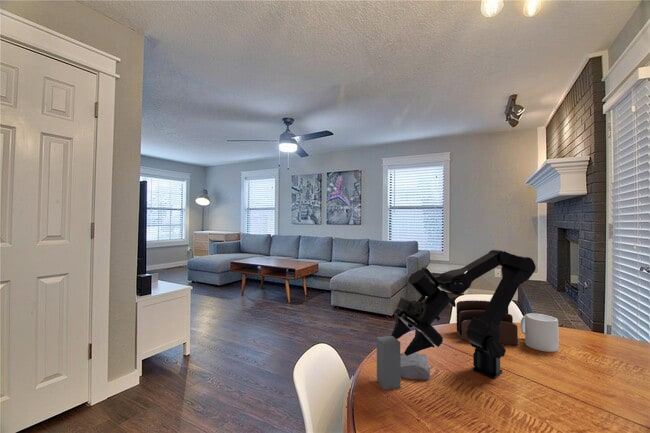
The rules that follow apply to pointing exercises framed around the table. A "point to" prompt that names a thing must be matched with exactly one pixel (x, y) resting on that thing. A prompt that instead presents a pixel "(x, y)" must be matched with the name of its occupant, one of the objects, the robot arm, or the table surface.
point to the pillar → (388, 362)
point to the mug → (540, 332)
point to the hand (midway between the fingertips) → (397, 347)
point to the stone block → (414, 366)
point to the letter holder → (476, 310)
